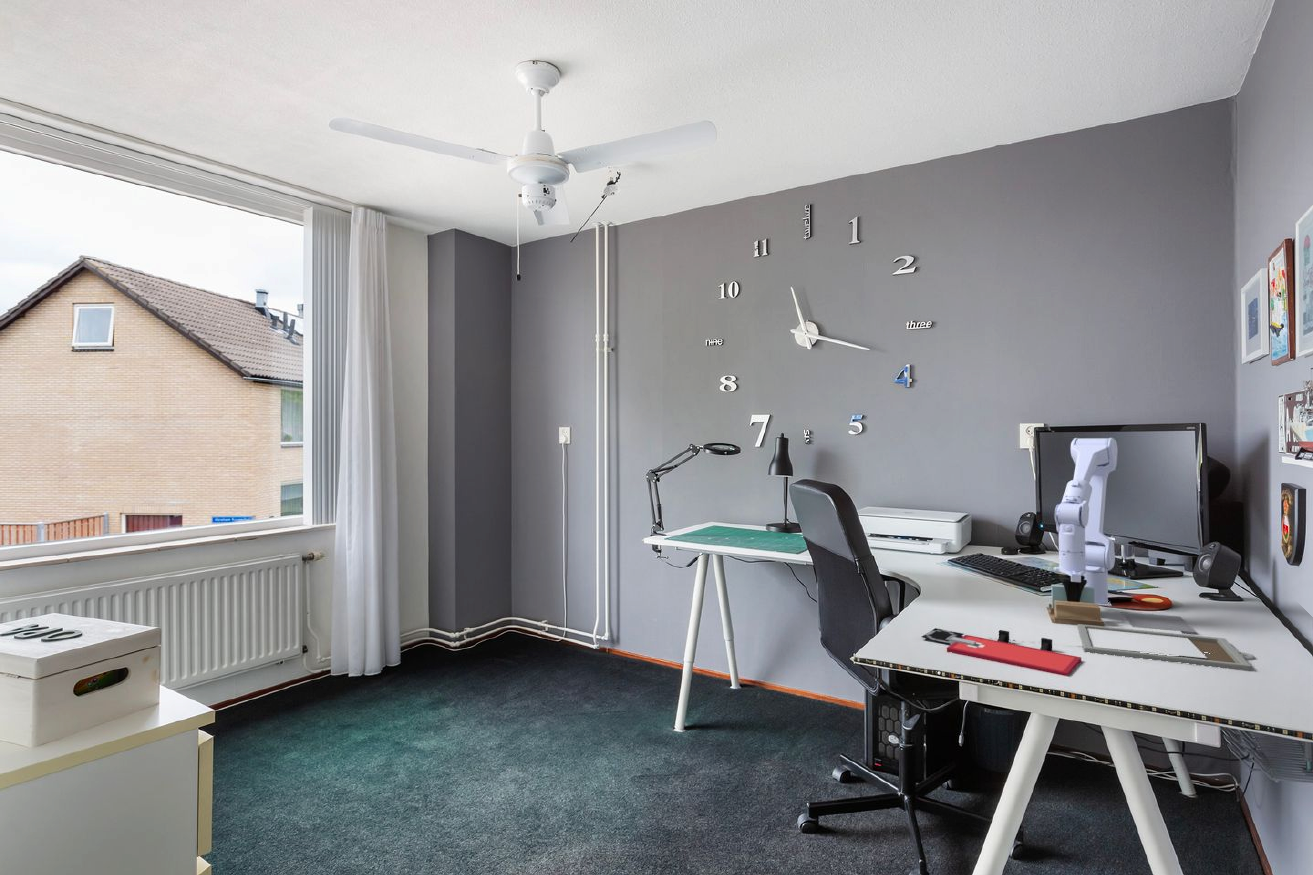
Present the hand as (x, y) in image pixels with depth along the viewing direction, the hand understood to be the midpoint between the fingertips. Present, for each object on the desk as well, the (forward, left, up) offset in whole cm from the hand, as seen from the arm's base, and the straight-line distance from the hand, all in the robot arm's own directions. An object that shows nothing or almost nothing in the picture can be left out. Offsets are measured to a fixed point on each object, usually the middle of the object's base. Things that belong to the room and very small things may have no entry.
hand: (1072, 605), depth 172 cm
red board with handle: (+37, -18, -3) cm, 42 cm away
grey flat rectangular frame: (+23, +14, -3) cm, 27 cm away
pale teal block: (0, 0, -2) cm, 2 cm away
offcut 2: (+9, 0, -2) cm, 9 cm away
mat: (+2, +17, -2) cm, 17 cm away
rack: (+4, 0, -2) cm, 5 cm away
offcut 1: (+7, 0, -2) cm, 7 cm away
